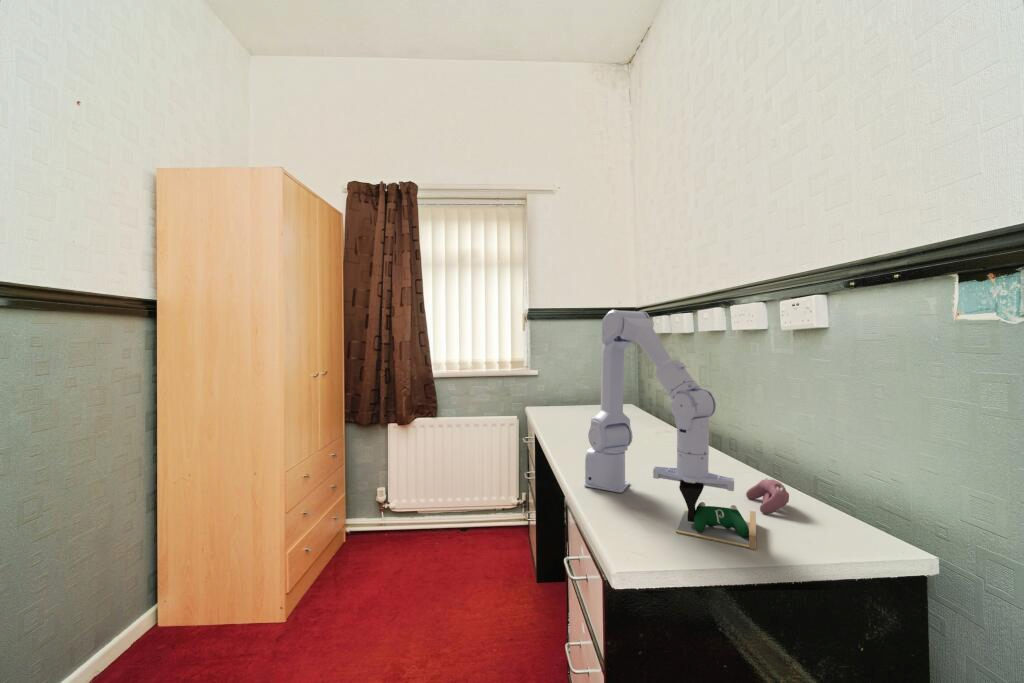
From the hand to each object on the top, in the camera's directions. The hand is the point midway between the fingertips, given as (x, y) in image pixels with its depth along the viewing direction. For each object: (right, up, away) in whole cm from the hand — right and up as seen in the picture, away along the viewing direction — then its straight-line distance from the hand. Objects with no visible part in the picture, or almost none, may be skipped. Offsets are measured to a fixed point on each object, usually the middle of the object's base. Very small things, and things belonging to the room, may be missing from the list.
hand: (691, 520), depth 83 cm
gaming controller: (+4, -1, -2) cm, 5 cm away
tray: (+4, -1, -1) cm, 4 cm away
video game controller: (+21, -1, +9) cm, 23 cm away
